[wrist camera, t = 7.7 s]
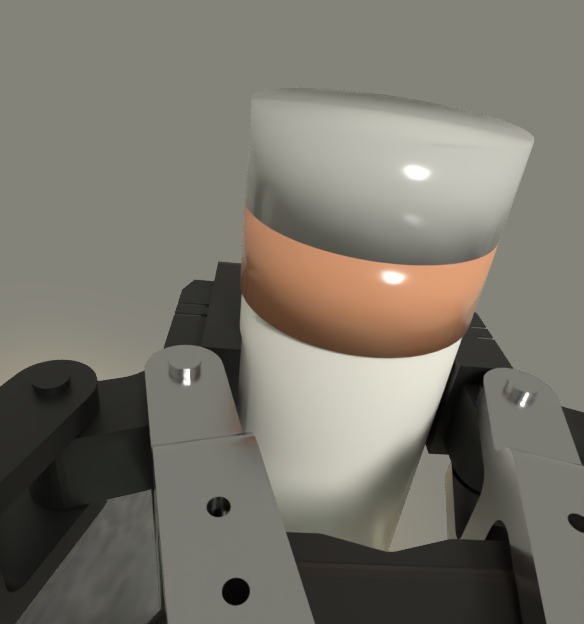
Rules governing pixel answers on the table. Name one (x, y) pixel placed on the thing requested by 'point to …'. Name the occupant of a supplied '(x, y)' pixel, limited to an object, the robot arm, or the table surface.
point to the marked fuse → (361, 290)
